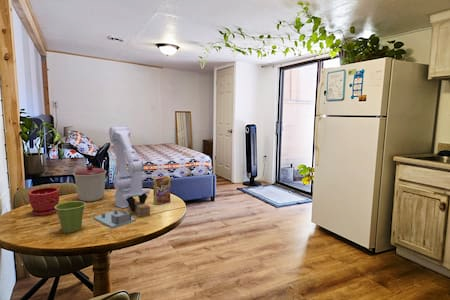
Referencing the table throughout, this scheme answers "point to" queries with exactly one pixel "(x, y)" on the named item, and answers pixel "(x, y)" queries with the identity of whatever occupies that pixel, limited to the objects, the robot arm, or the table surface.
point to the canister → (90, 183)
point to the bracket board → (115, 218)
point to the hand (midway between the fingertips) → (137, 209)
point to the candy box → (161, 190)
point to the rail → (140, 209)
